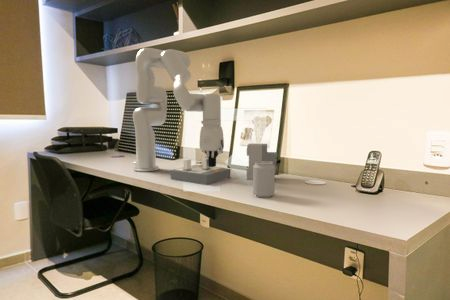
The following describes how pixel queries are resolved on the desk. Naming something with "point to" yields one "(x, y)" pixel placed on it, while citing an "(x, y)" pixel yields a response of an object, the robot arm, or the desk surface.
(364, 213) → the desk surface
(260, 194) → the can
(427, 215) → the desk surface
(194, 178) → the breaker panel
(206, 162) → the handle
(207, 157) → the handle
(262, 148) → the circuit breaker
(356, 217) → the desk surface
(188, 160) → the handle
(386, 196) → the desk surface
